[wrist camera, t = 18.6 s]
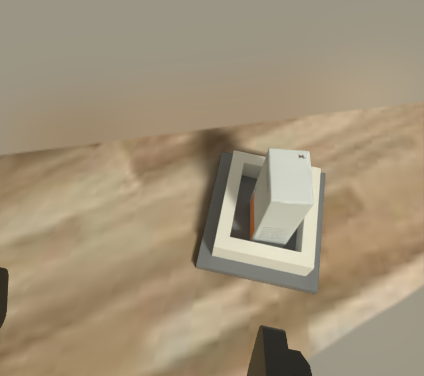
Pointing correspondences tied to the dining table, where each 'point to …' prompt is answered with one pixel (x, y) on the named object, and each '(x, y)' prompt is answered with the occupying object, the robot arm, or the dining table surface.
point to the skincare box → (281, 196)
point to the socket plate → (240, 231)
